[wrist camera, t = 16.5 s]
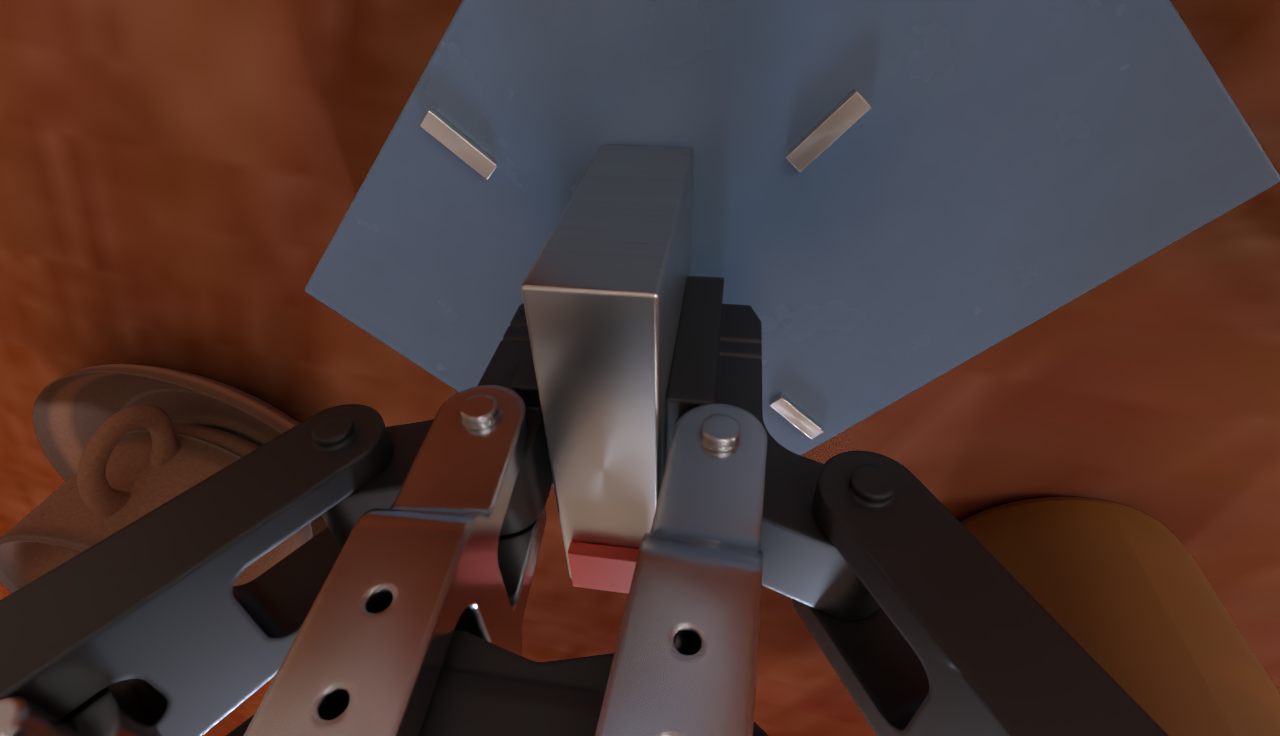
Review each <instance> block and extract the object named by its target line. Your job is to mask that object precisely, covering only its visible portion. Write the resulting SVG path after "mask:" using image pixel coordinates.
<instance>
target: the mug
mask: <svg viewBox="0 0 1280 736" xmlns="http://www.w3.org/2000/svg"><path fill="white" fill-rule="evenodd" d="M960 523H961V524H962V525H963V526H964V527H965V528H966V529H967V530H968V531H969V532H970V533H971V534H972V535H973V536H974V537H975V538H976V539H977V540H978V541H979V542H980V543H981V544H982V545H983V546H984V547H985V548H986V549H987V550H988V551H989V552H990V553H991V555H992V556H993V557H994V558H995V559H996V560H997V561H998V562H999V563H1000V564H1001V565H1002V566H1003V567H1004V568H1005V569H1006V570H1007V571H1008V572H1009V573H1010V574H1011V575H1012V576H1013V577H1014V578H1015V579H1016V580H1017V581H1018V582H1019V583H1020V584H1021V585H1022V586H1023V587H1024V588H1025V589H1026V590H1027V591H1028V592H1029V593H1030V594H1031V595H1032V596H1033V597H1034V598H1035V599H1036V600H1037V601H1038V602H1039V604H1040V605H1041V606H1042V607H1043V608H1044V609H1045V610H1046V611H1047V612H1048V613H1049V614H1050V615H1051V616H1052V617H1053V618H1054V619H1055V620H1056V621H1057V622H1058V623H1059V624H1060V625H1061V626H1062V627H1063V628H1064V629H1065V630H1066V631H1067V632H1068V633H1069V634H1070V635H1071V636H1072V637H1073V638H1074V639H1075V640H1076V641H1077V642H1078V643H1079V644H1080V645H1081V646H1082V647H1083V648H1084V649H1085V650H1086V652H1087V653H1088V654H1089V655H1090V656H1091V657H1092V658H1093V659H1094V660H1095V661H1096V662H1097V663H1098V664H1099V665H1100V666H1101V667H1102V668H1103V669H1104V670H1105V671H1106V672H1107V673H1108V674H1109V675H1110V676H1111V677H1112V678H1113V679H1114V680H1115V681H1116V682H1117V683H1118V684H1119V685H1120V686H1121V687H1122V688H1123V689H1124V690H1125V691H1126V692H1127V693H1128V694H1129V695H1130V696H1131V697H1132V698H1133V700H1134V701H1135V702H1136V703H1137V704H1138V705H1139V706H1140V707H1141V708H1142V709H1143V710H1144V711H1145V712H1146V713H1147V714H1148V715H1149V716H1150V717H1151V718H1152V719H1153V720H1154V721H1155V722H1156V723H1157V724H1158V725H1159V726H1160V727H1161V728H1162V729H1163V730H1164V731H1165V732H1166V733H1167V734H1168V735H1169V736H1280V694H1279V692H1278V690H1277V689H1276V687H1275V685H1274V684H1273V682H1272V681H1271V679H1270V677H1269V676H1268V674H1267V673H1266V671H1265V670H1264V668H1263V666H1262V665H1261V663H1260V662H1259V660H1258V658H1257V657H1256V655H1255V654H1254V652H1253V651H1252V649H1251V648H1250V646H1249V645H1248V643H1247V642H1246V640H1245V639H1244V637H1243V636H1242V634H1241V632H1240V631H1239V629H1238V628H1237V626H1236V625H1235V623H1234V622H1233V620H1232V619H1231V617H1230V615H1229V614H1228V612H1227V611H1226V609H1225V607H1224V606H1223V604H1222V603H1221V601H1220V599H1219V598H1218V596H1217V595H1216V593H1215V591H1214V590H1213V588H1212V587H1211V585H1210V583H1209V582H1208V580H1207V579H1206V577H1205V575H1204V574H1203V572H1202V571H1201V569H1200V568H1199V566H1198V565H1197V563H1196V562H1195V560H1194V559H1193V557H1192V556H1191V555H1190V553H1189V552H1188V551H1187V549H1186V548H1185V547H1184V545H1183V544H1182V543H1181V541H1180V540H1179V539H1178V538H1177V537H1176V536H1175V535H1174V534H1173V533H1172V532H1171V531H1170V530H1169V529H1168V528H1167V527H1165V526H1164V525H1163V524H1162V523H1160V522H1159V521H1157V520H1155V519H1154V518H1152V517H1150V516H1148V515H1147V514H1145V513H1143V512H1141V511H1138V510H1136V509H1134V508H1131V507H1129V506H1126V505H1122V504H1119V503H1116V502H1111V501H1106V500H1101V499H1094V498H1085V497H1042V498H1034V499H1026V500H1021V501H1015V502H1010V503H1007V504H1003V505H999V506H996V507H993V508H990V509H987V510H984V511H981V512H979V513H977V514H975V515H972V516H970V517H968V518H966V519H964V520H962V521H961V522H960Z"/></svg>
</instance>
